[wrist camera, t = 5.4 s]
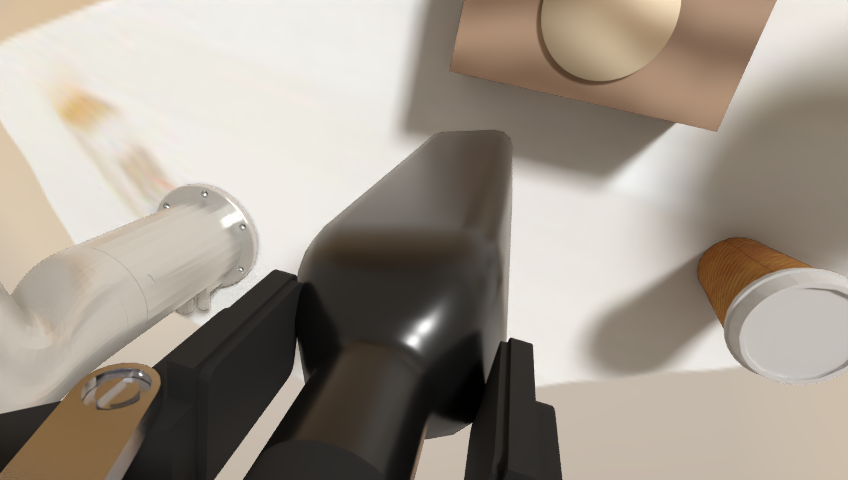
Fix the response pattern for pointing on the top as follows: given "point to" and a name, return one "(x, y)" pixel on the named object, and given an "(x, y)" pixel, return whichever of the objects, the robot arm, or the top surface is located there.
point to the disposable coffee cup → (777, 311)
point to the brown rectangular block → (617, 51)
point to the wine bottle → (400, 315)
